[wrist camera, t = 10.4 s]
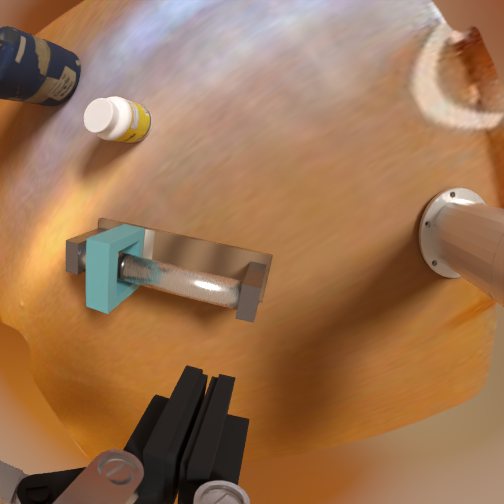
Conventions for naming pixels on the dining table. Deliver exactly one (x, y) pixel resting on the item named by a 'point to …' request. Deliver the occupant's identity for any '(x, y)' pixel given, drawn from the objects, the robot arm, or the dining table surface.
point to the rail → (178, 278)
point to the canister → (35, 69)
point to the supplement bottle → (118, 120)
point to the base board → (198, 253)
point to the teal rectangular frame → (110, 266)
